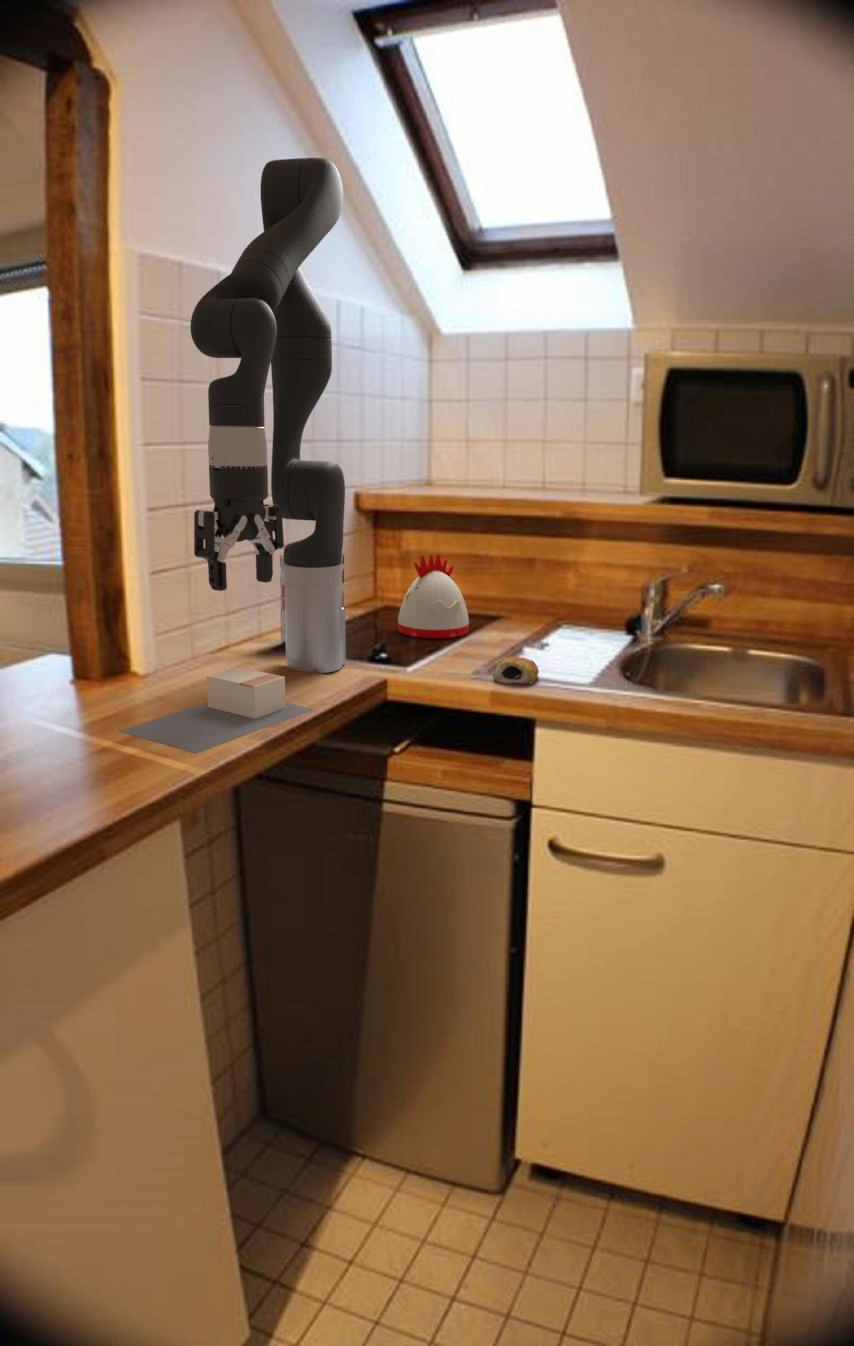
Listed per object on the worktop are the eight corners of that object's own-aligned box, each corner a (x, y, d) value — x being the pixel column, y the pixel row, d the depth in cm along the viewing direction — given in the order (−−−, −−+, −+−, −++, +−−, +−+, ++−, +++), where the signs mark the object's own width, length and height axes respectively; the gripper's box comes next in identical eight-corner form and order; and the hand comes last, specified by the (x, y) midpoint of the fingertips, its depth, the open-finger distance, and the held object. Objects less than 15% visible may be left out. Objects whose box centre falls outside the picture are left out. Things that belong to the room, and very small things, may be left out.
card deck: (238, 696, 135) (237, 666, 134) (285, 708, 130) (284, 676, 129) (207, 706, 130) (206, 675, 129) (255, 718, 125) (254, 686, 124)
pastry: (504, 669, 156) (505, 647, 155) (544, 673, 154) (545, 651, 153) (490, 683, 147) (491, 660, 146) (532, 688, 145) (534, 664, 144)
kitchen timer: (387, 625, 186) (387, 550, 182) (448, 621, 192) (450, 548, 188) (415, 640, 174) (416, 560, 170) (480, 635, 180) (483, 557, 176)
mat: (241, 695, 137) (240, 691, 137) (314, 713, 130) (314, 709, 130) (119, 735, 120) (118, 730, 119) (195, 757, 112) (195, 753, 112)
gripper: (255, 460, 129) (258, 576, 133) (176, 462, 118) (182, 589, 122) (296, 462, 125) (298, 582, 129) (218, 464, 114) (223, 596, 118)
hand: (242, 585), depth 126 cm, fingers open, 8 cm apart
